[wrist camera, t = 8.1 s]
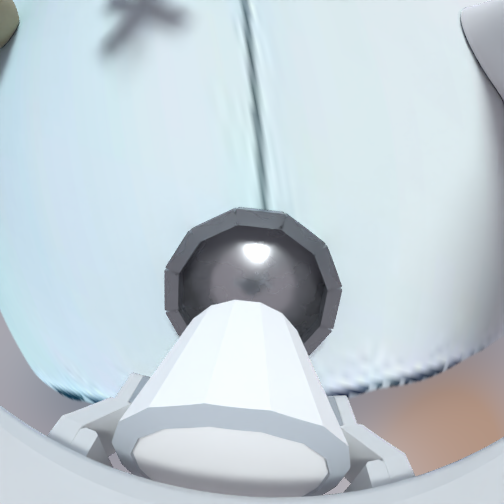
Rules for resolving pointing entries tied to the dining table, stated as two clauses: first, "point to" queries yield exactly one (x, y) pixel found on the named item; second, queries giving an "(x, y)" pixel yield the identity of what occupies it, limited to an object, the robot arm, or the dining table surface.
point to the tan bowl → (7, 20)
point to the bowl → (255, 271)
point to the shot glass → (235, 411)
